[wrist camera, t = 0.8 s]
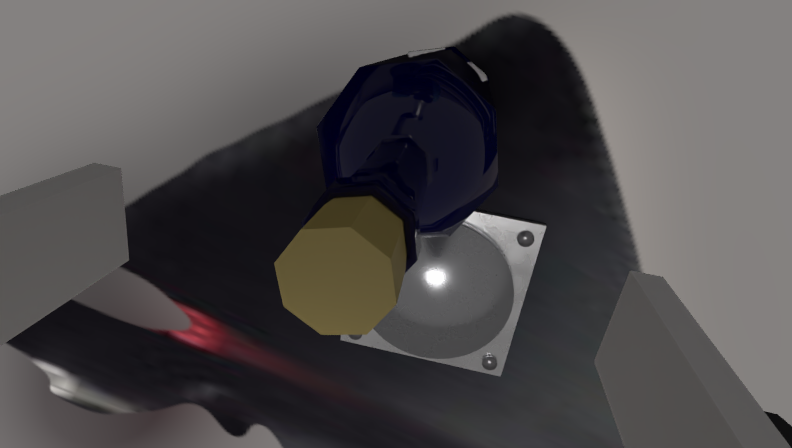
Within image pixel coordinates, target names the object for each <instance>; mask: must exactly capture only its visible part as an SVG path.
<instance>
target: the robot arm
mask: <svg viewBox="0 0 792 448" xmlns="http://www.w3.org/2000/svg"><path fill="white" fill-rule="evenodd" d="M121 175H122V174H121V168H117V167H112V166H107V165H102V164H97V163H92V164H89V165H87V166H84V167H81V168H78V169H75V170H72V171H70V172H67V173H64V174H61V175H58V176H55V177H52V178H50V179H47V180H44V181H41V182H38V183H35V184H33V185H30V186H27V187H24V188H21V189H18V190H15V191H13V192H10V193H7V194H4V195H1V196H0V346H1V345H3V344H4V343H6V342H7V341H9V340H10V339H12V338H13V337H15V336H16V335H18V334H19V333H21V332H22V331H24V330H25V329H27V328H28V327H30V326H31V325H33V324H34V323H36V322H37V321H39V320H40V319H42V318H43V317H45V316H46V315H48V314H49V313H51V312H52V311H54V310H55V309H57V308H58V307H60V306H61V305H63V304H64V303H66V302H67V301H69V300H70V299H72V298H73V297H74V296H76V295H77V294H79V293H80V292H82V291H84V290H85V289H86V288H88V287H89V286H91V285H92V284H94V283H95V282H97V281H99V280H100V279H101V278H103V277H104V276H106V275H108V274H109V273H110V272H112V271H113V270H115V269H117V268H118V267H120V266H121V265H123V264H124V263H126V262H127V261H129V254H128V242H127V231H126V220H125V208H124V197H123V186H122V176H121ZM594 363H595V366H596V368H597V371H598V374H599V377H600V380H601V383H602V385H603V388H604V391H605V394H606V397H607V400H608V402H609V405H610V408H611V411H612V414H613V416H614V419H615V422H616V425H617V428H618V431H619V433H620V436H621V439H622V442H623V445H624V448H792V426H791V425H789V424H788V423H787V422H786V421H785V420H784V419H782V418H781V417H780V416H779V415H778V414H773V413H769V412H765V411H763V410H762V408H761V407H760V406H759V404H758V403H757V401H756V400H755V399H754V398H753V396H752V395H751V393H750V392H749V391H748V390H747V388H746V387H745V385H744V384H743V383H742V381H741V380H740V379H739V377H738V376H737V375H736V374H735V372H734V371H733V370H732V368H731V367H730V366H729V364H728V363H727V362H726V360H725V359H724V358H723V356H722V355H721V354H720V352H719V351H718V350H717V348H716V347H715V346H714V344H713V343H712V342H711V340H710V339H709V338H708V336H707V335H706V334H705V333H704V331H703V330H702V329H701V327H700V326H699V324H698V323H697V322H696V320H695V319H694V318H693V316H692V315H691V314H690V312H689V311H688V310H687V308H686V307H685V306H684V304H683V303H682V302H681V300H680V299H679V298H678V296H677V295H676V294H675V292H674V291H673V290H672V288H671V287H670V286H669V284H668V283H667V282H666V280H665V279H664V278H663V277H660V276H655V275H650V274H645V273H640V272H635V271H630V272H629V275H628V277H627V280H626V282H625V285H624V287H623V290H622V292H621V295H620V297H619V300H618V302H617V305H616V307H615V310H614V313H613V315H612V318H611V320H610V323H609V325H608V328H607V330H606V333H605V335H604V338H603V340H602V343H601V345H600V348H599V350H598V353H597V355H596V358H595V360H594Z"/></svg>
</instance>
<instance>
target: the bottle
mask: <svg viewBox="0 0 792 448" xmlns="http://www.w3.org/2000/svg"><path fill="white" fill-rule="evenodd" d="M316 129H317V135H318V141H319V147H320V153H321V159H322V165H323V171H324V177H325V183H326V189H327V190H326V191H325V192H324V194H323V195H322V196H321V197H320V199H319V200H318V201H317V203H316V204H315V205H314V206H313V208H312V209H311V210H310V212H309V213H308V214H307V215H306V217H305V218H304V219H303V220H302V222H301V224H302V229H301V230H300V231H299V233H298V234H297V235H296V236H295V238H294V239H293V240H292V242H291V243H290V244H289V245H288V247H287V248H286V249H285V250H284V252H283V253H282V254H281V255H280V257H279V258H278V259H277V261H276V262H275V263H274V265H275V269H276V274H277V279H278V283H279V288H280V292H281V297H282V301H283V306H284V307H285V308H286V309H288V310H289V311H290V312H292V313H293V314H294V315H296V316H297V317H298V318H300V319H301V320H302V321H304V322H305V323H306V324H308V325H309V326H310V327H312V328H313V329H314V330H316V331H317V332H318V333H319V334H321V335H367V334H368V333H369V332H370V331H371V330H372V329H373V328H374V327H375V326H376V325H377V324H378V323H379V322H380V321H381V320H382V319H383V318H384V317H385V316H386V315H387V314H388V313H389V312H390V311H391V310H392V309H393V308H394V306H395V305H396V304H397V301H398V297H399V293H400V289H401V286H402V282H403V278H404V274H405V273H406V272H407V271H408V270H409V269H410V268H411V267H412V266H413V265H414V264H415V263H416V262H417V260H418V257H419V254H420V251H421V247H422V245H421V238H427V237H450V236H451V235H452V234H453V233H454V232H455V231H456V230H457V229H458V227H459V226H460V225H461V224H462V223H463V222H464V221H465V220H466V219H467V218H468V217H469V216H470V215H471V214H472V213H473V212H474V211H475V210H476V209H477V208H478V207H479V206H480V205H481V204H482V203H483V202H484V201H485V200H486V199H487V198H488V197H489V196H490V194H491V193H492V192H493V191H494V190H495V189H496V188H497V187H498V186H499V184H498V155H497V126H496V109H495V105H494V101H493V98H492V94H491V91H490V87H489V77H488V76H487V75H486V74H485V73H484V72H482V71H481V70H480V69H479V68H478V67H477V66H476V65H474V64H473V63H472V62H471V61H470V60H469V59H468V58H467V57H465V56H464V55H463V54H462V53H461V52H460V51H459V50H458V49H456V48H455V47H445V48H436V49H428V50H419V51H410V52H408V53H407V54H406V55H402V56H399V57H395V58H391V59H387V60H384V61H380V62H377V63H373V64H369V65H366V66H363V67H360V68H359V69H358V70H357V71H356V73H355V74H354V76H353V77H352V78H351V80H350V81H349V82H348V84H347V85H346V86H345V88H344V89H343V91H342V92H341V93H340V95H339V96H338V98H337V99H336V100H335V102H334V103H333V104H332V106H331V107H330V109H329V110H328V111H327V113H326V114H325V116H324V117H323V118H322V120H321V121H320V122H319V124H318V125H317V127H316Z"/></svg>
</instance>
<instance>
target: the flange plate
mask: <svg viewBox="0 0 792 448" xmlns="http://www.w3.org/2000/svg"><path fill="white" fill-rule="evenodd" d="M545 229H546V224H545V223H540V222H535V221H530V220H525V219H520V218H515V217H510V216H505V215H500V214H495V213H490V212H485V211H480V210H475V211H474V212H473V213H472V214H471V215H470V216H469V217H468V218H467V219H466V220H465V221H464V222H463V223H462V224H461V225H460V226H459V227H458V229H457V230H456V231H455V232H454V233H453V234H452V235H451V236H450V237H427V238H421V245H422V247H421V251H420V254H419V257H418V260H417V262H416V263H415V264H414V265H413V266H412V267H411V268H410V269H409V270H408V271H407V272H406V273H405V274H404V278H403V282H402V286H401V289H400V293H399V297H398V301H397V304H396V305H395V306H394V308H393V309H392V310H391V311H390V312H389V313H388V314H387V315H386V316H385V317H384V318H383V319H382V320H381V321H380V322H379V323H378V324H377V325H376V326H375V327H374V328H373V329H372V330H371V331H370V332H369V333H368V334H367V335H341V340H343V341H347V342H352V343H356V344H360V345H365V346H369V347H374V348H378V349H382V350H387V351H391V352H395V353H400V354H404V355H409V356H413V357H417V358H422V359H426V360H431V361H435V362H439V363H444V364H448V365H452V366H457V367H461V368H466V369H470V370H474V371H479V372H483V373H488V374H492V375H496V376H501V373H502V370H503V367H504V363H505V360H506V357H507V354H508V350H509V347H510V344H511V341H512V337H513V334H514V331H515V327H516V324H517V321H518V318H519V314H520V311H521V308H522V304H523V301H524V298H525V295H526V291H527V288H528V285H529V281H530V278H531V275H532V272H533V268H534V265H535V262H536V258H537V255H538V252H539V249H540V245H541V242H542V239H543V235H544V232H545Z"/></svg>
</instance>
